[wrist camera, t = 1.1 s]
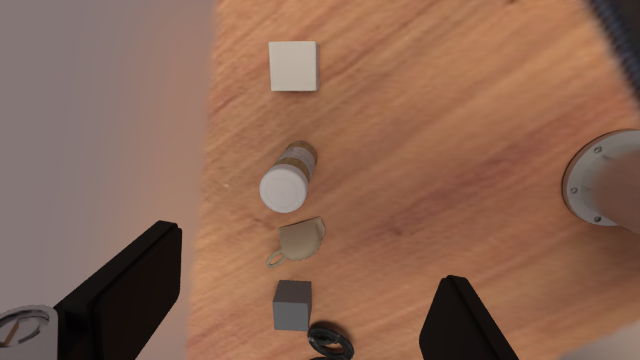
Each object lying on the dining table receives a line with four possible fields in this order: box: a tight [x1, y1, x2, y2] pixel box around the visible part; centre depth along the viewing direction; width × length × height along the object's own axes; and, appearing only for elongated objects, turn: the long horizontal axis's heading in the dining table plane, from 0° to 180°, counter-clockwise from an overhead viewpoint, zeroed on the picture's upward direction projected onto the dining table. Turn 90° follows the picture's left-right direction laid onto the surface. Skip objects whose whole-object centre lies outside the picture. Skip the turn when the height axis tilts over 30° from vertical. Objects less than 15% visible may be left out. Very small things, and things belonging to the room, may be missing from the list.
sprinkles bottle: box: [259, 141, 317, 213], centre depth 35 cm, size 5×5×13 cm
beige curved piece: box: [266, 217, 325, 268], centre depth 43 cm, size 4×8×5 cm, turn 107°
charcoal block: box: [273, 280, 312, 331], centre depth 46 cm, size 5×5×5 cm
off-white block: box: [269, 41, 319, 91], centre depth 35 cm, size 5×5×5 cm
